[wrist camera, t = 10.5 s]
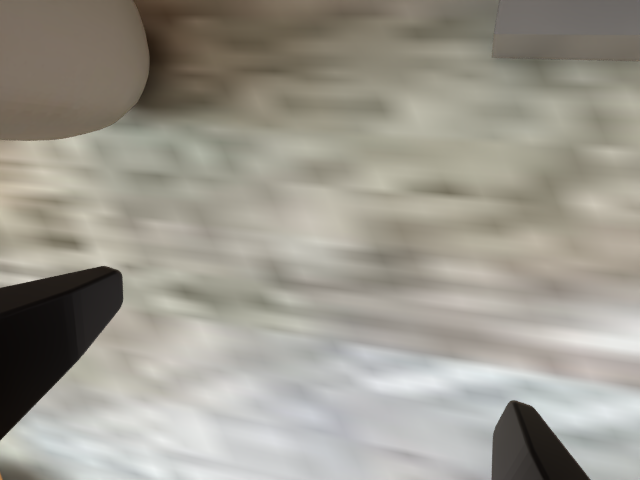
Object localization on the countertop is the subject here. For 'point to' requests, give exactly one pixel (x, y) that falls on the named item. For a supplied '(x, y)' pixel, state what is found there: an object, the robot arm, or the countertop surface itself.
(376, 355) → the countertop surface
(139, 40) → the grey bottle
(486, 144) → the countertop surface
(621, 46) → the slate block
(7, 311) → the robot arm
